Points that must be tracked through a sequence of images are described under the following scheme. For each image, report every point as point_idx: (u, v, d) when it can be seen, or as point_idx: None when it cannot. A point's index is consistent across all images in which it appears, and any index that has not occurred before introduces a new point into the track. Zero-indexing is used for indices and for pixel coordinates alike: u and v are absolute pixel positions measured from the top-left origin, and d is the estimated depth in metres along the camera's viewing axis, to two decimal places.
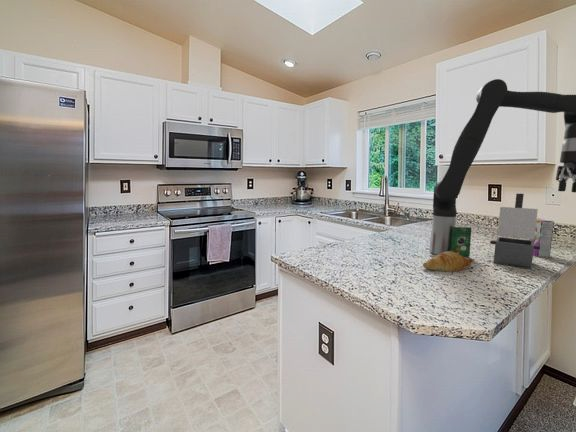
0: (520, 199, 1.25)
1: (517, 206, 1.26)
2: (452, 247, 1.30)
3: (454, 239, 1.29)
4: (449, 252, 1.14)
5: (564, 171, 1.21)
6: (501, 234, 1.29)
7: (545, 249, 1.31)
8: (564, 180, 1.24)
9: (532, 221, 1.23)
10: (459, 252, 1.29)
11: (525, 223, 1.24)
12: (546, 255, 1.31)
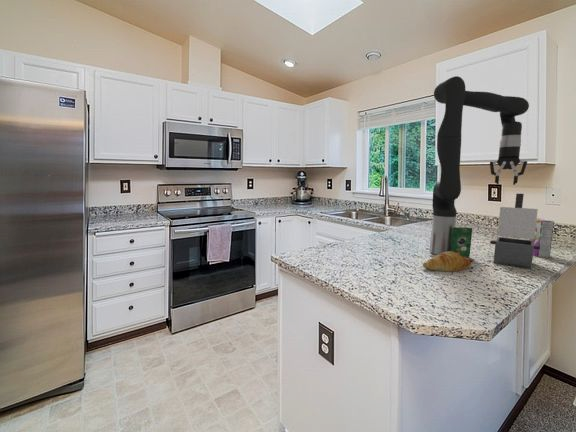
0: (520, 199, 1.25)
1: (517, 206, 1.26)
2: (452, 247, 1.30)
3: (455, 239, 1.29)
4: (449, 252, 1.13)
5: (504, 164, 1.34)
6: (501, 234, 1.29)
7: (545, 249, 1.31)
8: (498, 174, 1.38)
9: (532, 221, 1.23)
10: (460, 253, 1.29)
11: (525, 223, 1.24)
12: (546, 255, 1.31)
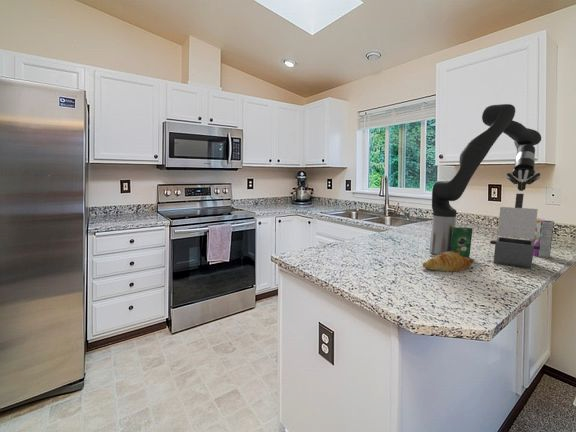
0: (520, 199, 1.25)
1: (517, 206, 1.26)
2: (452, 247, 1.30)
3: (455, 239, 1.29)
4: (449, 252, 1.13)
5: (521, 172, 1.40)
6: (501, 234, 1.29)
7: (545, 249, 1.31)
8: None
9: (532, 221, 1.23)
10: (460, 253, 1.29)
11: (525, 223, 1.24)
12: (546, 255, 1.31)
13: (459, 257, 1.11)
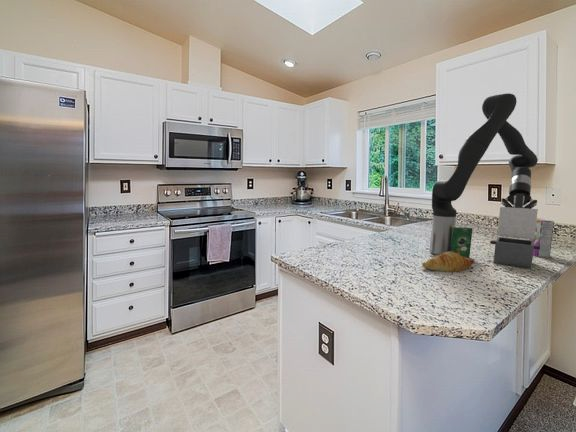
0: (520, 199, 1.24)
1: (517, 206, 1.25)
2: (452, 247, 1.30)
3: (455, 239, 1.29)
4: (449, 252, 1.13)
5: None
6: (501, 234, 1.29)
7: (545, 249, 1.31)
8: None
9: (532, 221, 1.22)
10: (460, 253, 1.29)
11: (525, 223, 1.24)
12: (546, 255, 1.31)
13: (459, 257, 1.11)
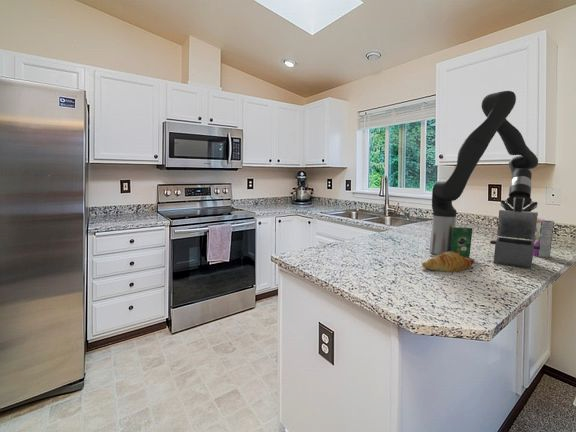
0: (520, 204, 1.19)
1: (517, 210, 1.21)
2: (452, 247, 1.30)
3: (455, 239, 1.29)
4: (449, 252, 1.13)
5: None
6: (501, 235, 1.28)
7: (545, 249, 1.31)
8: None
9: (532, 224, 1.20)
10: (460, 253, 1.29)
11: (525, 226, 1.22)
12: (546, 255, 1.31)
13: (459, 257, 1.10)
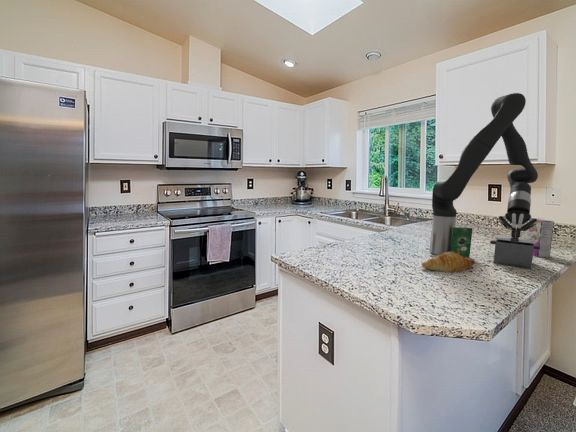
0: None
1: None
2: (452, 247, 1.30)
3: (455, 239, 1.29)
4: (449, 252, 1.13)
5: (515, 216, 1.21)
6: None
7: (545, 249, 1.31)
8: None
9: None
10: (460, 253, 1.29)
11: None
12: (546, 255, 1.31)
13: (459, 257, 1.10)
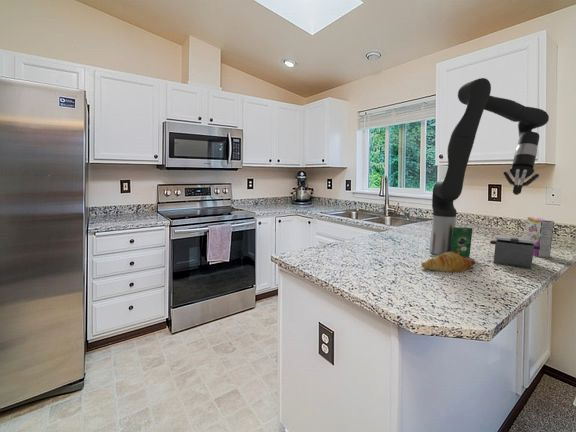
0: None
1: None
2: (452, 247, 1.30)
3: (455, 239, 1.29)
4: (449, 253, 1.13)
5: (519, 172, 1.30)
6: None
7: (545, 249, 1.31)
8: None
9: None
10: (460, 253, 1.29)
11: None
12: (546, 255, 1.31)
13: (459, 258, 1.10)
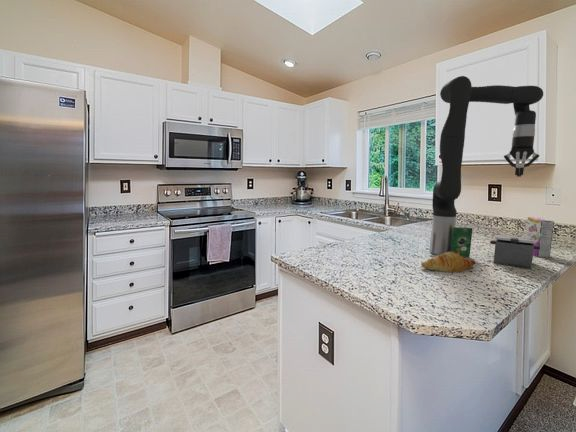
0: None
1: None
2: (452, 247, 1.30)
3: (455, 239, 1.29)
4: (449, 253, 1.13)
5: (519, 154, 1.31)
6: None
7: (545, 249, 1.31)
8: (518, 165, 1.33)
9: None
10: (460, 253, 1.29)
11: None
12: (546, 255, 1.31)
13: (459, 258, 1.10)
